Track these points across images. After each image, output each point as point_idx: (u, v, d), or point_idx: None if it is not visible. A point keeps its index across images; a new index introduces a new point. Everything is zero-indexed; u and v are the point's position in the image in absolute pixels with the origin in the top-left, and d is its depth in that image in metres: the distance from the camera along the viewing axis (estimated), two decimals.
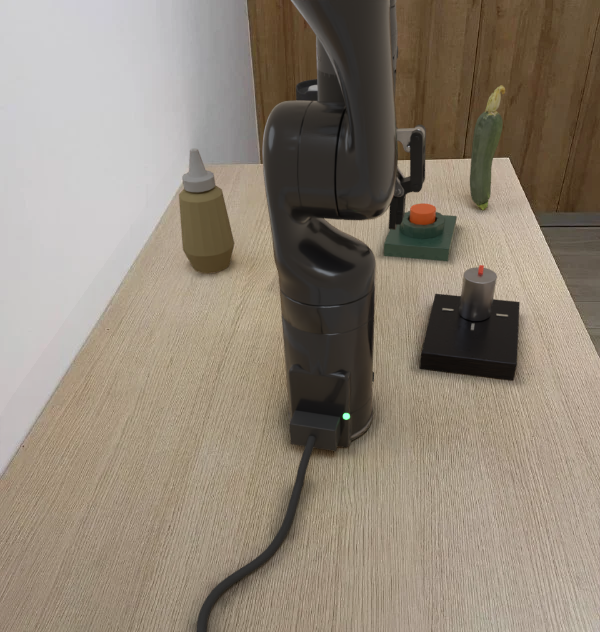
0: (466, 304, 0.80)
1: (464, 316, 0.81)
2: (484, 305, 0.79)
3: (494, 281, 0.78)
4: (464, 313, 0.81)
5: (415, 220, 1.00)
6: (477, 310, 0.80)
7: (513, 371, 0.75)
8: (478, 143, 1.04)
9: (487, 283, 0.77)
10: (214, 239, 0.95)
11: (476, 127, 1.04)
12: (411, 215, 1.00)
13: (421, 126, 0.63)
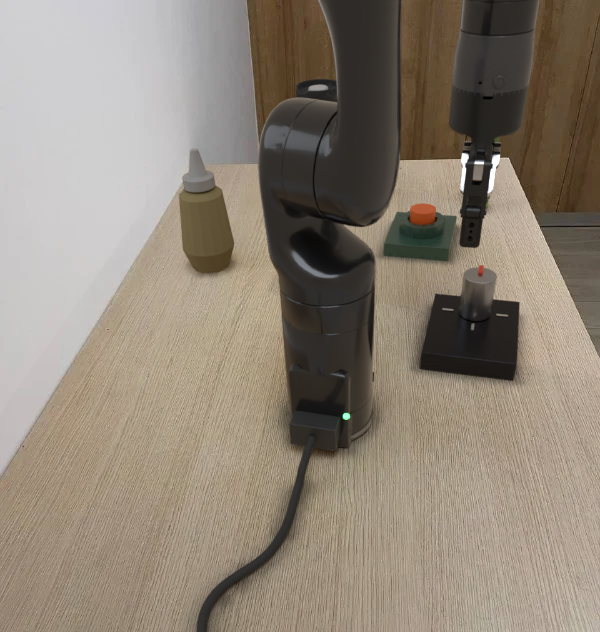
0: (466, 304, 0.80)
1: (464, 316, 0.81)
2: (484, 305, 0.79)
3: (494, 281, 0.78)
4: (464, 313, 0.81)
5: (415, 220, 1.00)
6: (477, 310, 0.80)
7: (513, 371, 0.75)
8: None
9: (487, 283, 0.77)
10: (214, 239, 0.95)
11: None
12: (411, 215, 1.00)
13: (487, 161, 0.63)
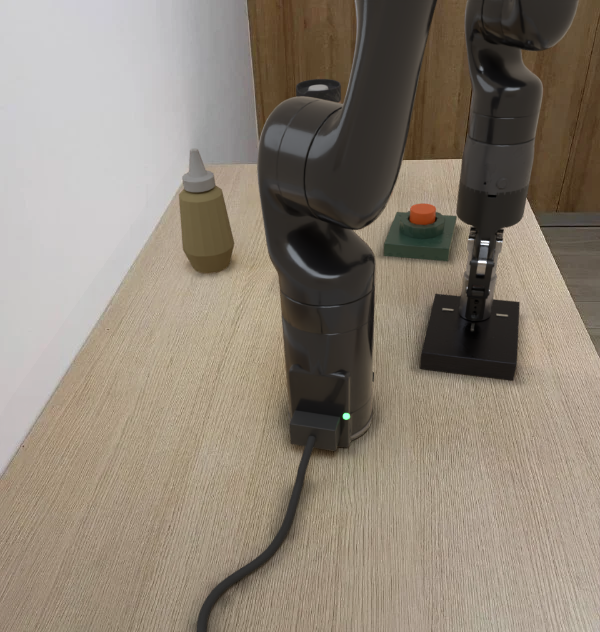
0: (466, 304, 0.80)
1: (464, 316, 0.81)
2: None
3: (494, 281, 0.78)
4: (464, 313, 0.81)
5: (415, 220, 1.00)
6: None
7: (513, 371, 0.75)
8: None
9: None
10: (214, 239, 0.95)
11: None
12: (411, 215, 1.00)
13: (489, 262, 0.71)
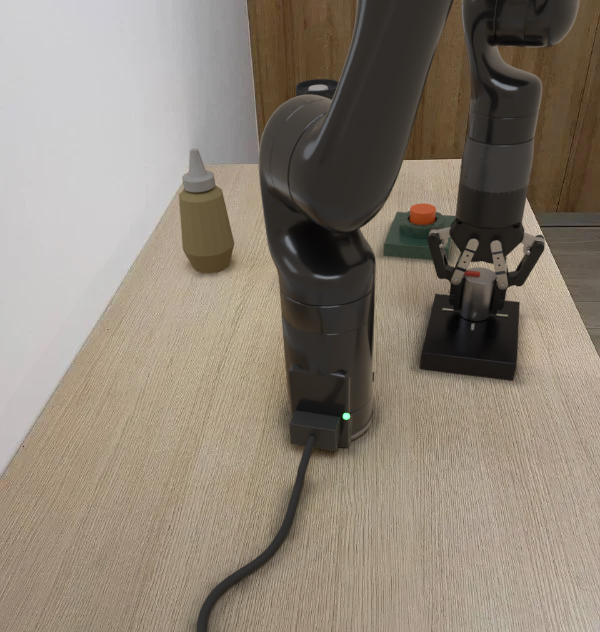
0: (489, 305, 0.80)
1: (487, 317, 0.81)
2: None
3: None
4: (487, 314, 0.81)
5: (415, 220, 1.00)
6: (492, 302, 0.81)
7: (513, 371, 0.75)
8: None
9: None
10: (214, 239, 0.95)
11: None
12: (411, 215, 1.00)
13: (543, 237, 0.75)
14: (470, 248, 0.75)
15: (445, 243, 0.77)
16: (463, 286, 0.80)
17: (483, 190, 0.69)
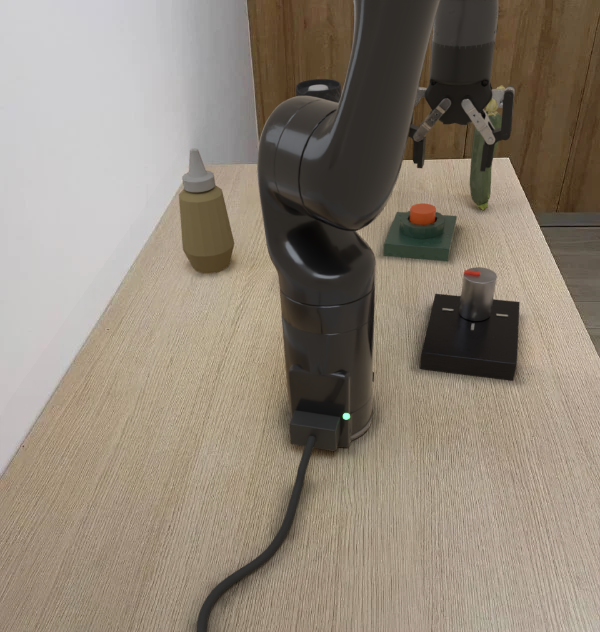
0: (489, 305, 0.80)
1: (487, 317, 0.81)
2: None
3: None
4: (487, 314, 0.81)
5: (415, 220, 1.00)
6: (492, 302, 0.81)
7: (513, 371, 0.75)
8: (478, 143, 1.04)
9: (495, 273, 0.79)
10: (214, 239, 0.95)
11: None
12: (411, 215, 1.00)
13: (511, 86, 0.80)
14: (441, 107, 0.82)
15: (417, 101, 0.84)
16: (463, 286, 0.80)
17: (452, 44, 0.75)
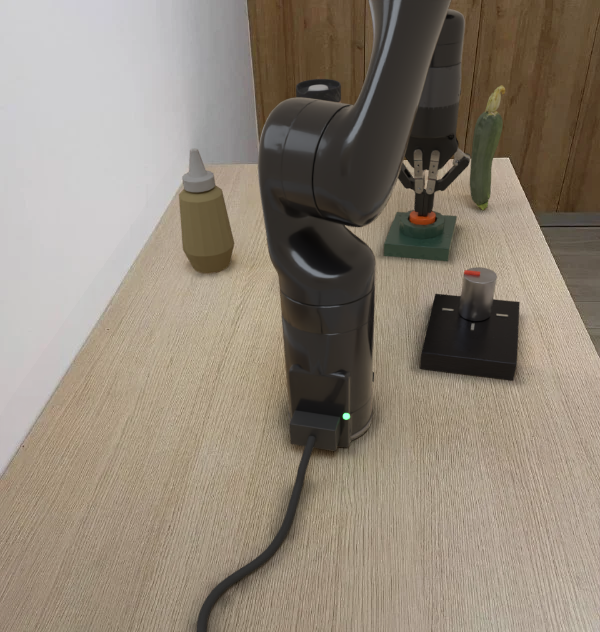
0: (489, 305, 0.80)
1: (487, 317, 0.81)
2: None
3: None
4: (487, 314, 0.81)
5: None
6: (492, 302, 0.81)
7: (513, 371, 0.75)
8: (478, 143, 1.04)
9: (495, 273, 0.79)
10: (214, 239, 0.95)
11: (476, 127, 1.04)
12: (410, 221, 1.01)
13: (469, 156, 0.94)
14: (417, 158, 0.94)
15: None
16: (463, 286, 0.80)
17: (422, 106, 0.88)
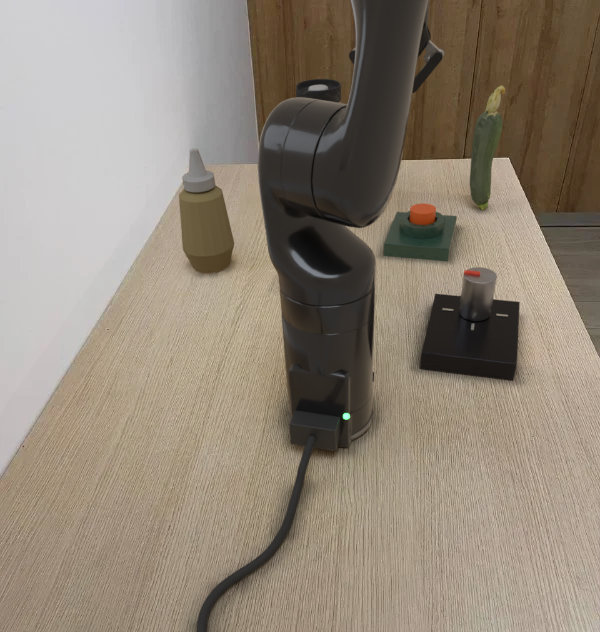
0: (489, 305, 0.80)
1: (487, 317, 0.81)
2: None
3: None
4: (487, 314, 0.81)
5: (415, 220, 1.00)
6: (492, 302, 0.81)
7: (513, 371, 0.75)
8: (478, 143, 1.04)
9: (495, 273, 0.79)
10: (214, 239, 0.95)
11: (476, 127, 1.04)
12: (411, 215, 1.00)
13: (443, 51, 0.83)
14: None
15: None
16: (463, 286, 0.80)
17: None
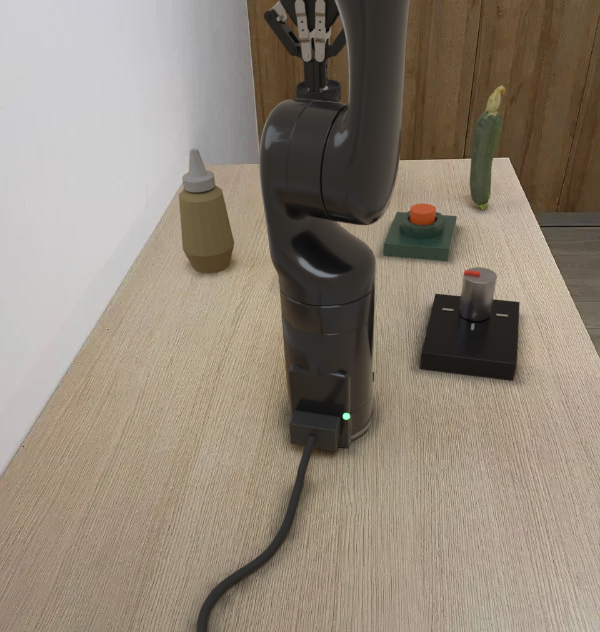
0: (489, 305, 0.80)
1: (487, 317, 0.81)
2: None
3: None
4: (487, 314, 0.81)
5: (415, 220, 1.00)
6: (492, 302, 0.81)
7: (513, 371, 0.75)
8: (478, 143, 1.04)
9: (495, 273, 0.79)
10: (214, 239, 0.95)
11: (476, 127, 1.04)
12: (411, 215, 1.00)
13: None
14: (300, 11, 0.77)
15: (283, 16, 0.79)
16: (463, 286, 0.80)
17: None
